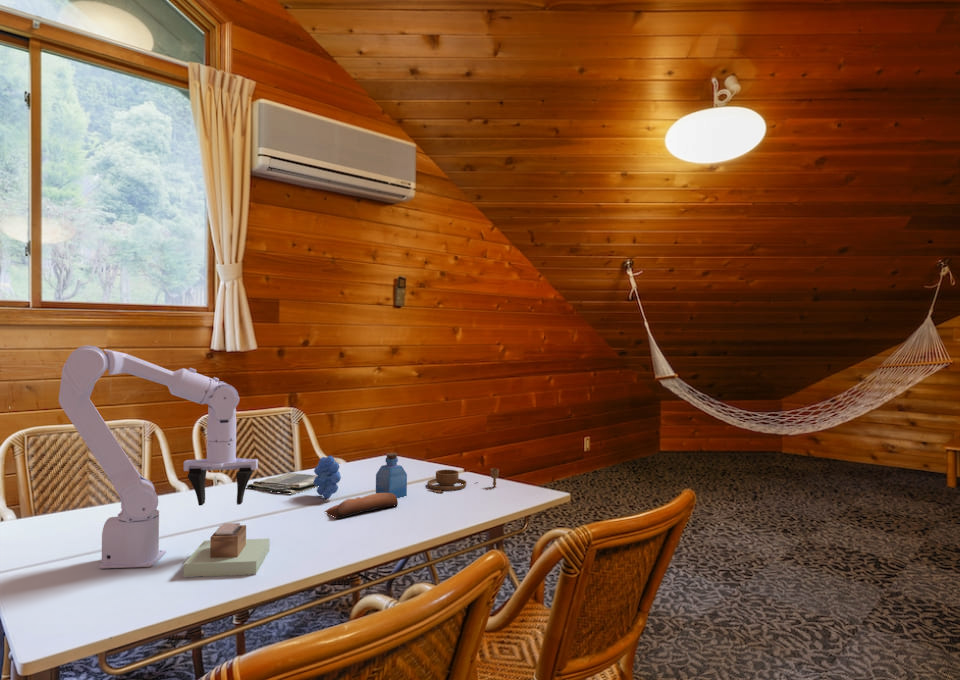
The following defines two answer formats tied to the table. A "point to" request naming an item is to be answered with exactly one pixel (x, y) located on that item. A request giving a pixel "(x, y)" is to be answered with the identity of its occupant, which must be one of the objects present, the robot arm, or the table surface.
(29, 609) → the table surface
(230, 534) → the lid plate
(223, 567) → the stand
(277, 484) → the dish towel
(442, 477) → the place setting
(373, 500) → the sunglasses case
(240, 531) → the brown box
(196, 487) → the robot arm
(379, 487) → the perfume bottle
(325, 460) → the grapes
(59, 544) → the table surface
